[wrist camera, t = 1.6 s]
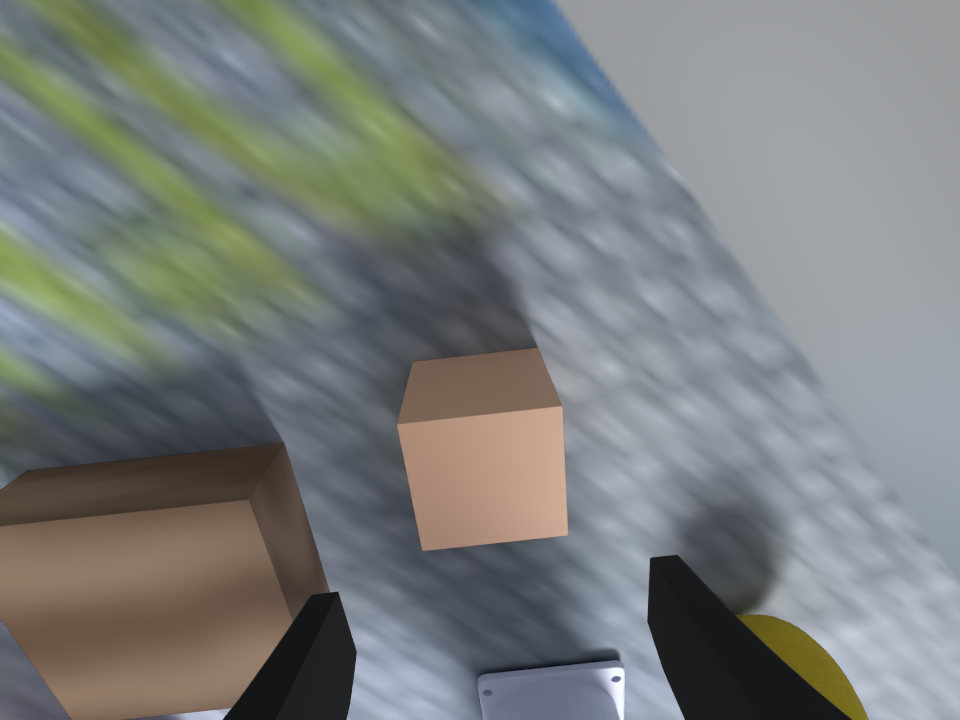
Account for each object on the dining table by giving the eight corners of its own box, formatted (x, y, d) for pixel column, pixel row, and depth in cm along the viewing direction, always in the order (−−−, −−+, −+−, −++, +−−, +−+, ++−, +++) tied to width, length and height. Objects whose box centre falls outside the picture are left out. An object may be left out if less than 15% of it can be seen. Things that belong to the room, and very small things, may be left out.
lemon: (685, 660, 26) (773, 856, 19) (680, 589, 24) (778, 778, 17) (785, 643, 26) (915, 835, 18) (790, 569, 24) (938, 752, 16)
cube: (544, 452, 21) (568, 535, 16) (431, 465, 21) (422, 551, 16) (537, 346, 19) (562, 406, 14) (412, 361, 19) (396, 424, 14)
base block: (342, 618, 25) (320, 698, 21) (132, 640, 25) (75, 724, 21) (287, 438, 20) (248, 500, 17) (34, 465, 20) (-61, 533, 17)
